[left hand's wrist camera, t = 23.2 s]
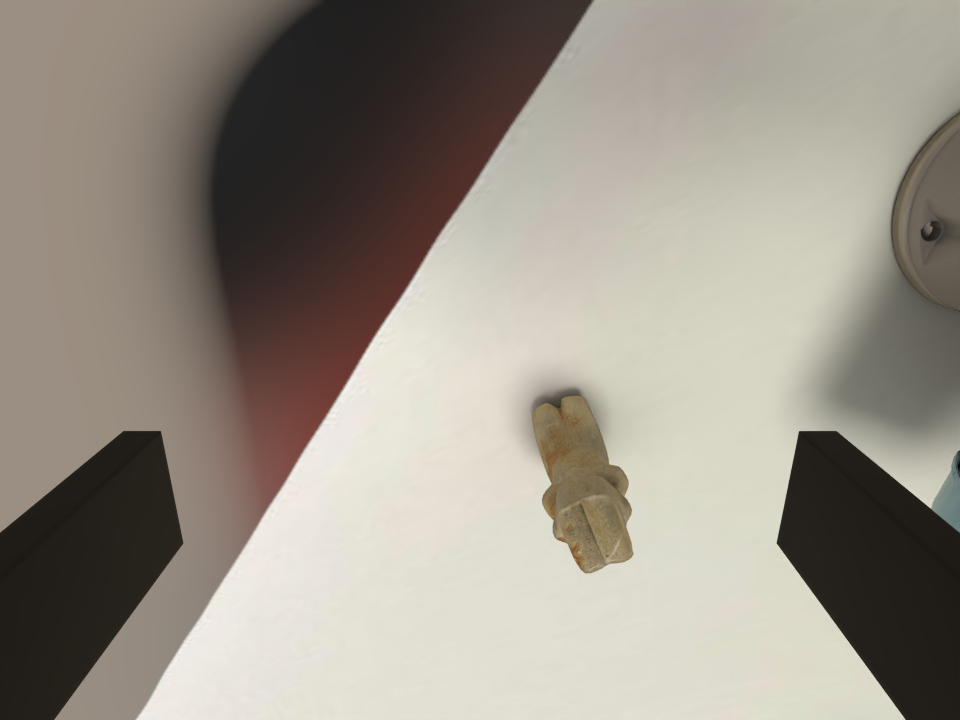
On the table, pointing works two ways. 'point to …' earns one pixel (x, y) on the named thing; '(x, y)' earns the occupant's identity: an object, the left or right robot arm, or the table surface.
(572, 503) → the sculpture
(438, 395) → the table surface
